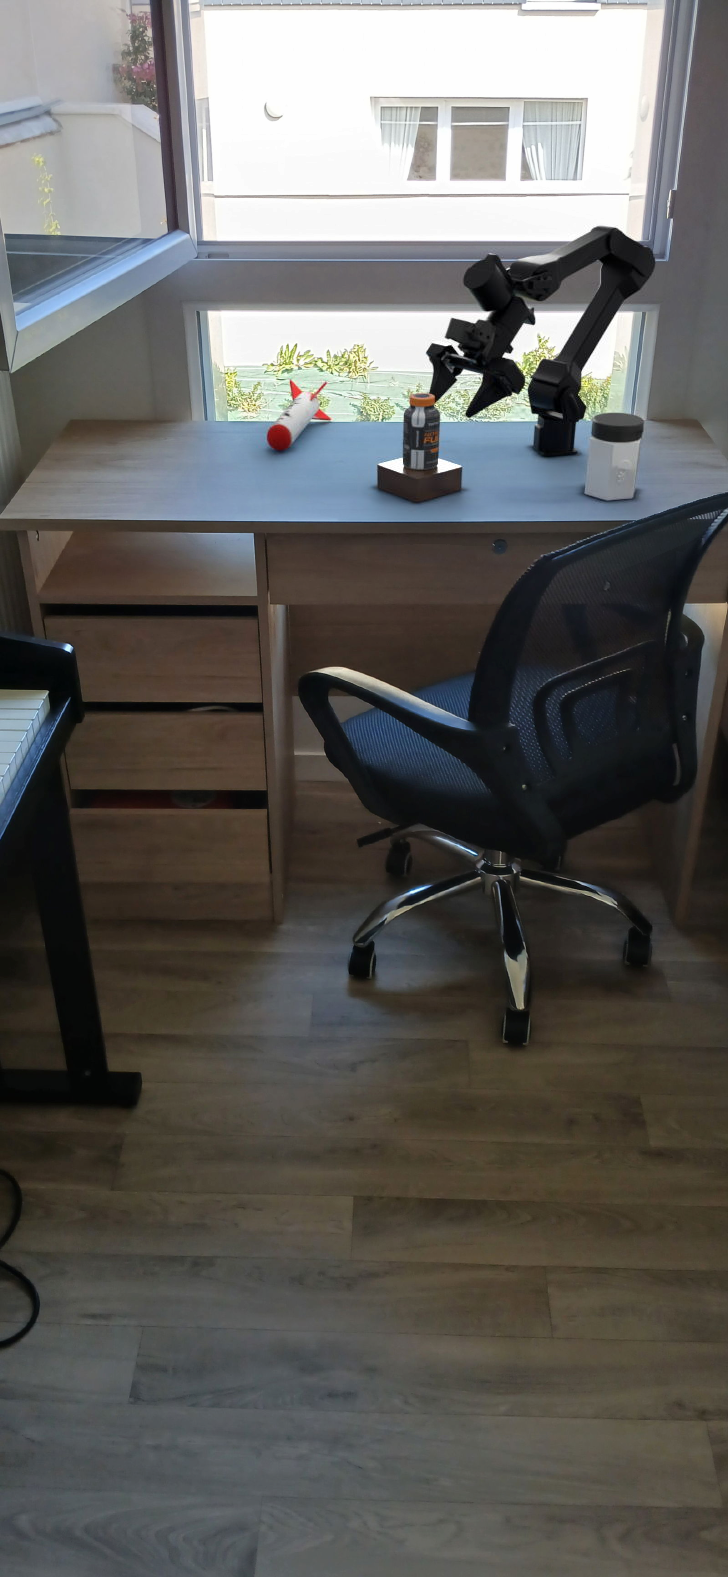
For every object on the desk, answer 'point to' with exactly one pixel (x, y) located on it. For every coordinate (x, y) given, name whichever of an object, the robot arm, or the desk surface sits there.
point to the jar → (614, 456)
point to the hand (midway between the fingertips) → (447, 410)
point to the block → (419, 480)
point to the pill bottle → (421, 432)
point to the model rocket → (295, 418)
